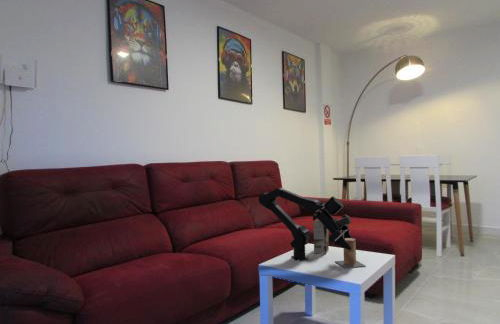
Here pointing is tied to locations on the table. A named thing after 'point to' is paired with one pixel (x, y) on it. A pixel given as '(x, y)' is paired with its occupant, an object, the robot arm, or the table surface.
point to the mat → (350, 265)
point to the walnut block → (350, 252)
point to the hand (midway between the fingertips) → (352, 247)
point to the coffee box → (320, 238)
